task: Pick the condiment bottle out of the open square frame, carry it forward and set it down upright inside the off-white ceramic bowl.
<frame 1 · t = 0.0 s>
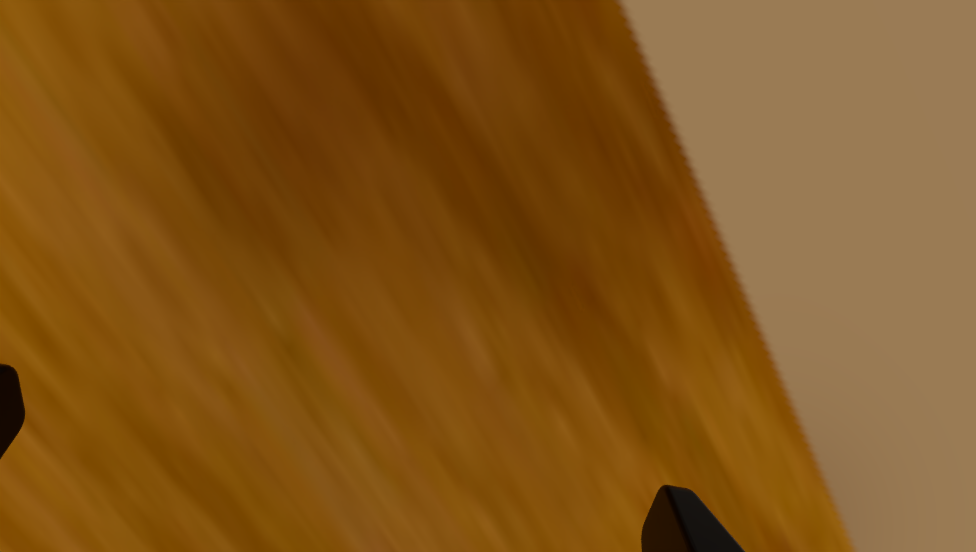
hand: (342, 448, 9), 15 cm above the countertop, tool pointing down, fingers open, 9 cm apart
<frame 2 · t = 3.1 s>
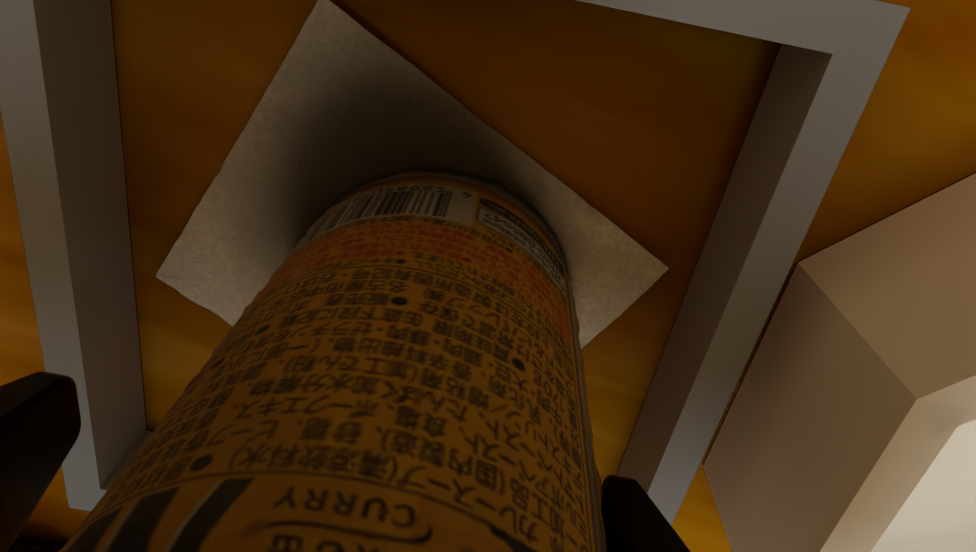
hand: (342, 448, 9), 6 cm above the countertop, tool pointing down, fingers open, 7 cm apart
open square frame: (406, 269, 14), on the countertop
condiment: (407, 264, 14), resting in open square frame, touching gripper
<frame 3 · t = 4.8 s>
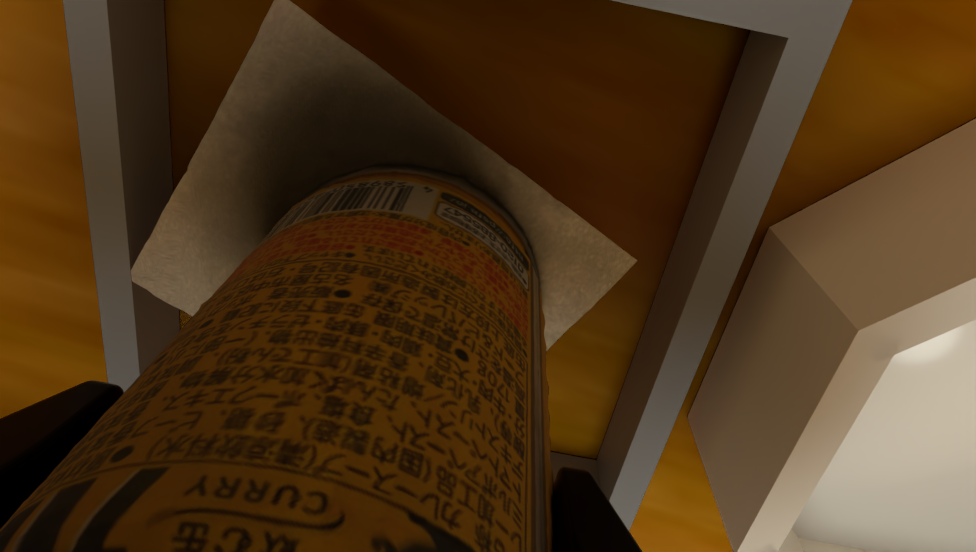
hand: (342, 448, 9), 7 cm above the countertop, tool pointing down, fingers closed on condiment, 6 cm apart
open square frame: (420, 234, 15), on the countertop
condiment: (377, 261, 14), point 2 cm above the countertop, touching gripper
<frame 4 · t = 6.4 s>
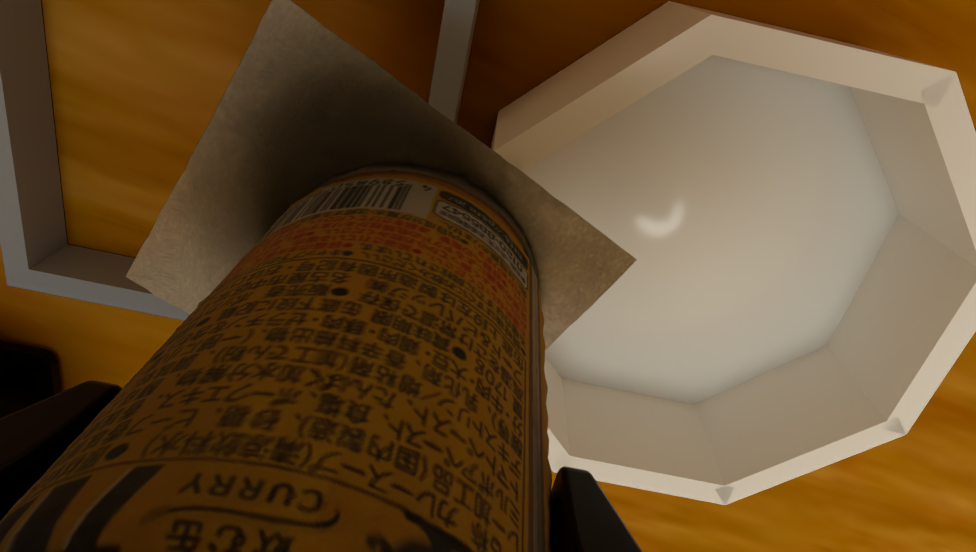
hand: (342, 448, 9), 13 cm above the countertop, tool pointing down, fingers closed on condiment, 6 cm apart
open square frame: (240, 115, 20), on the countertop
bowl: (682, 240, 21), on the countertop
condiment: (376, 260, 14), point 7 cm above the countertop, touching gripper
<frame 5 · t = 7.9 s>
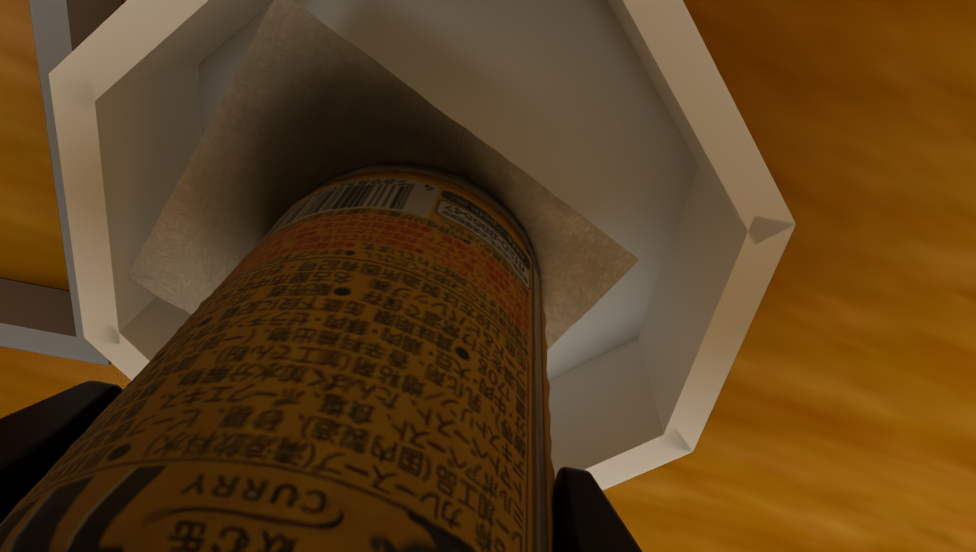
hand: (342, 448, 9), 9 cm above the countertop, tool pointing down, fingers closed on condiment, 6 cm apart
bowl: (438, 206, 17), on the countertop
condiment: (378, 259, 14), point 4 cm above the countertop, touching gripper
when the fingers open (7 cm above the countertop, at t = 9.2 s): condiment drops 1 cm, resting on bowl.
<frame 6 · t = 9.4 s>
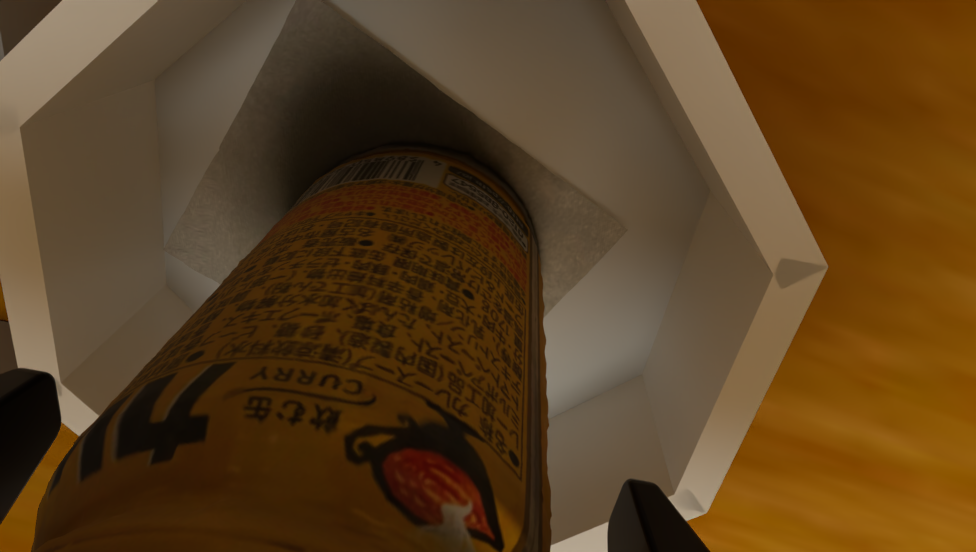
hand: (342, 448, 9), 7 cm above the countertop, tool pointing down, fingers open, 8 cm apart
bowl: (423, 234, 15), on the countertop
condiment: (391, 233, 15), resting on bowl
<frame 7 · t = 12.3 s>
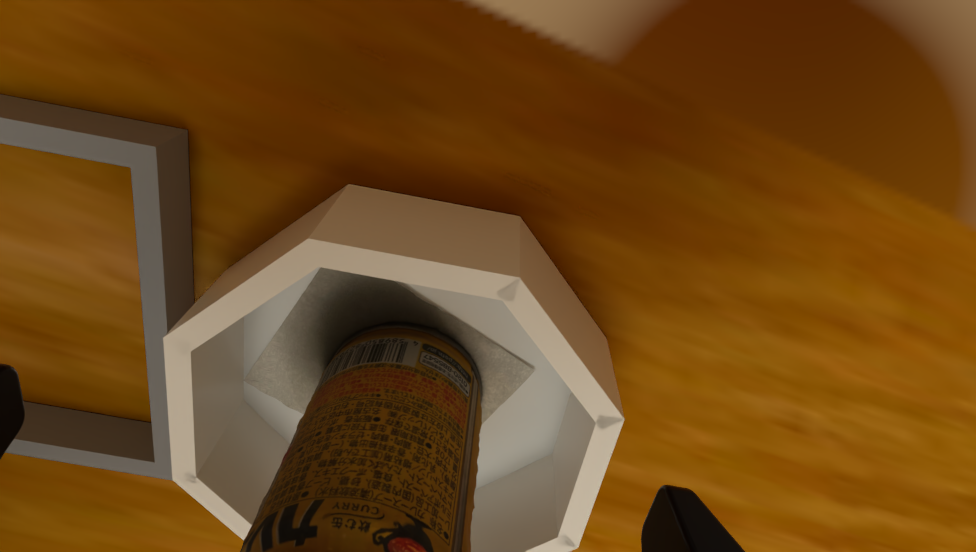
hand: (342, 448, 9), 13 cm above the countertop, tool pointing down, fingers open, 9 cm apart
open square frame: (8, 275, 23), on the countertop
bowl: (409, 368, 24), on the countertop
condiment: (388, 369, 24), resting on bowl
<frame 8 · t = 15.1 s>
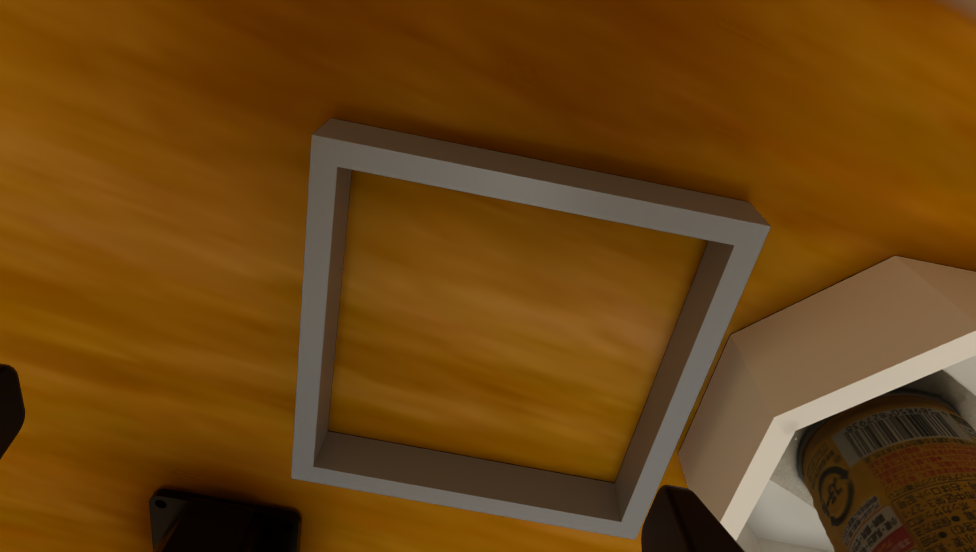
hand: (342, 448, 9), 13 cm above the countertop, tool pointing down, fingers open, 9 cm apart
open square frame: (501, 337, 23), on the countertop
bowl: (879, 431, 24), on the countertop
condiment: (861, 431, 24), resting on bowl
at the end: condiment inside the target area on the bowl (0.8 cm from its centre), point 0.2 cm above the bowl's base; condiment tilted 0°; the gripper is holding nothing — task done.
